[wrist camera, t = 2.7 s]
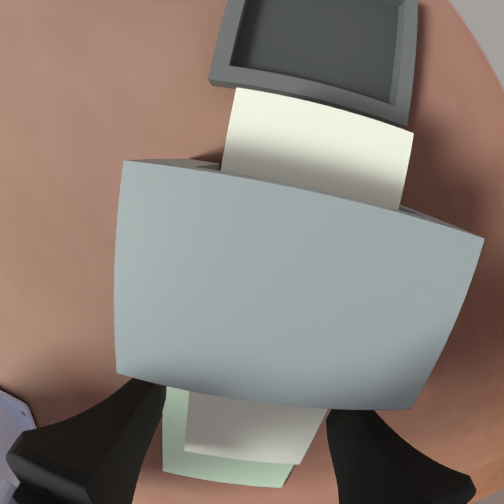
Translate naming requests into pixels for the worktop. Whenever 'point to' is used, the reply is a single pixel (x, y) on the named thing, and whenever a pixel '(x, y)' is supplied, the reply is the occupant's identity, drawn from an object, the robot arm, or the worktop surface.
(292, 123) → the long ivory beam
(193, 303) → the tunnel
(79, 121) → the worktop surface
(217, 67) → the tray
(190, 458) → the pad
